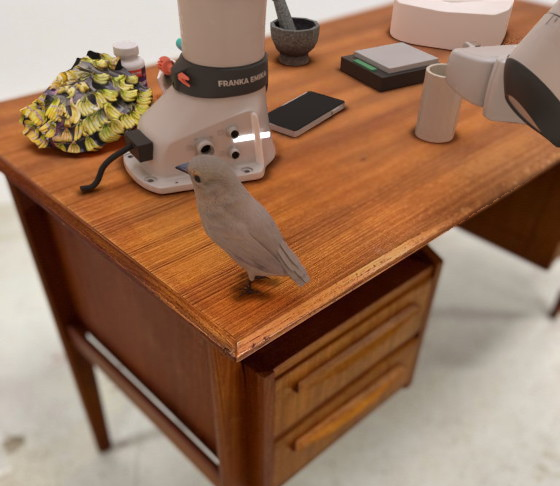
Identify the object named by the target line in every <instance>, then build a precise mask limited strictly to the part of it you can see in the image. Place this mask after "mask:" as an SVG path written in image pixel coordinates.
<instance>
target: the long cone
mask: <svg viewBox="0 0 560 486" xmlns="http://www.w3.org/2000/svg"><path fill="white" fill-rule="evenodd" d="M167 57H168V58H169V59H170V60H172V61H173V62H174V63H175V62H176V61H177V60H175V59H173V58H171V57H169V56H167ZM156 81H157V84H158V86H159V89H160V91H161V93H162V94H161V95H163V94H164V93H165V91H166V90H167V89H168V88H169V87H170V86H171V85H172V81H171V75H166V74H164V73H163V72H162V71H160V70H159V71H158V74H157V76H156Z"/></svg>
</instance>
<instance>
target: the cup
mask: <svg viewBox="0 0 560 486" xmlns="http://www.w3.org/2000/svg"><path fill="white" fill-rule="evenodd" d="M446 67H447V63H445V62H444V63H443V62H439V64H432V65H429V66H428V67H427V68H426V73H425V78H424V82H423V83H422V84H423V85H422V88H421V89H422V90H421V94H420V100H419V106H418V111H417V117H416V122H415V126H414V127H415V128H414V135H415V136H416V138H419V139H420V140H422V141H425V142H429V143H434V144H436V143H437V144H439V143H440V144H441V143H442V144H443V143H448V142H450V141H452V140H453V139H454V137H455V133H456V130H457V125H458V120H459V117H460V112H461V108H462V103H463V99H464V98H462V97H461V96H460V95H459V94H457V93H456V92H455V91H454V90H453V89H452V88H451V87H450V86H449V85H448V84H447V83H446V80H445V74H446Z"/></svg>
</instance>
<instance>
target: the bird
mask: <svg viewBox="0 0 560 486" xmlns="http://www.w3.org/2000/svg"><path fill="white" fill-rule="evenodd" d="M175 168H176V169H178V170H180V171H182V172H185V173H187V174H189V175H190V178H191V180H192V184H193V188H194V189H193V191H194V192H193V193H194V197H195V203H196V207H197V211H198V215H199V218H200V221H201V226H202V228H203V230H204V232H205V234H206V235H207V236H208V237H209V239H210V240H211V241H212V242H213V243H214V244H216V245H217V246H218V247H219V248H220V249H221V250H223V251H224V252H225V254H227V255H228V256H229V257H230V259H231V260H232V261H233V262H234V263H235V264H236V265H238V266H239V267H240V268H242V269H244V270H245V271H246V273H247V274H246V276H248V280H247V281H246V282H247V283H248V284H243V286H244V288H239V289H238V291H243V292H241V293H240V294H239V296H238V298H240V297H241V296H243V295H249V296H251V295H254V294H260V295H263V296H264V294H263V292H261V291H259V290H255V289H254V288H253V287H252V283H253V281H254V280H255V281H260V280H263V279H266V280H269V281H272V279H271V278H270V277H281V278H286V277H289V279H291V280H292V281H293V282H295V284H296V285H297V286H298V287H300V288H302V287H304V286H305V284H309V283H310V281H311V277H310V275H309V274H308V272H307V269H306V267H305V266H304V265H303V264H302V263H301V261H300V257H299V256H297V255H296V253H295V252H294V251H293V249H291V247H290V246H289V245H288V244H287V242H286V240H285V238H284V236H283V234H282V233H281V231H280V229H279V227H278V225H277V224H276V223H277V222H275V219H273V217H272V215H271V213H269V211H268V210H267V209H266V207H265V206H264V205H263V204H262V203H260V202H259V201H258V200H257V199H256V198H254V197H253V195H252V194H251V193H250V192H249V190H247V188H246V187H245V186H244V184H243V182H240V180H239V179H238V177H237V175H236V174H235V172H234V171H233V169H232V168H231V167H230V166H229V165H228V164H227V163H226V162H224V161H223V160H221V159H220V158H218V157H215V156H213V155H207V154H201V155H198V156H196V157H194V158H193V159H192V160H191V161H190V162H188V163H184V164H181V165H178V166H176V167H175Z"/></svg>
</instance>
